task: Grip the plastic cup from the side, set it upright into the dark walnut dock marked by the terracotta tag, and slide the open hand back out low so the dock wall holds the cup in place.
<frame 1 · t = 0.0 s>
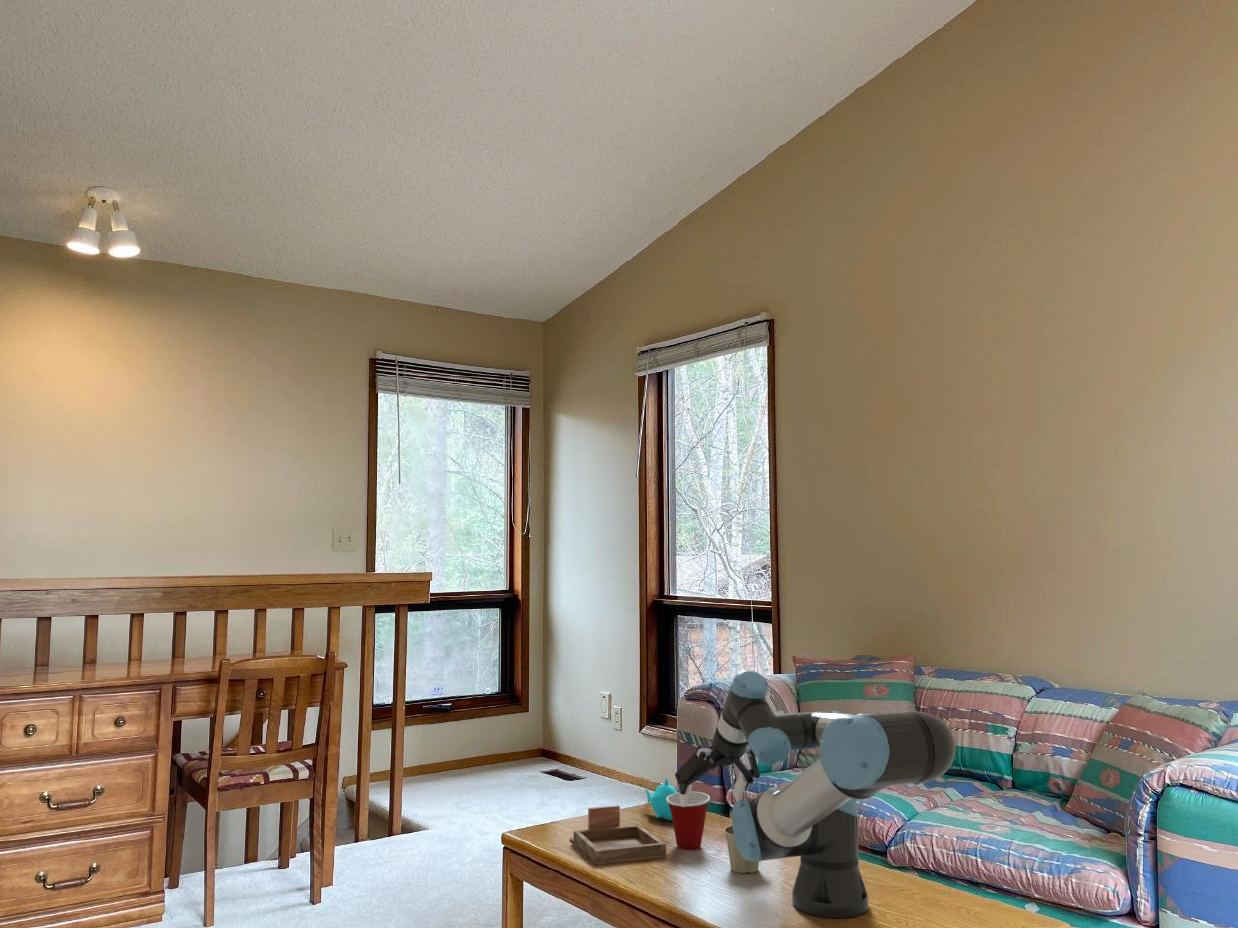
hand: (709, 799, 219), 15 cm above the table, tool tilted 35°, fingers open, 13 cm apart
toy shark: (665, 818, 261), on the table
flower pot: (744, 870, 218), on the table
cup dock: (618, 849, 232), on the table
plastic cup: (688, 847, 235), on the table
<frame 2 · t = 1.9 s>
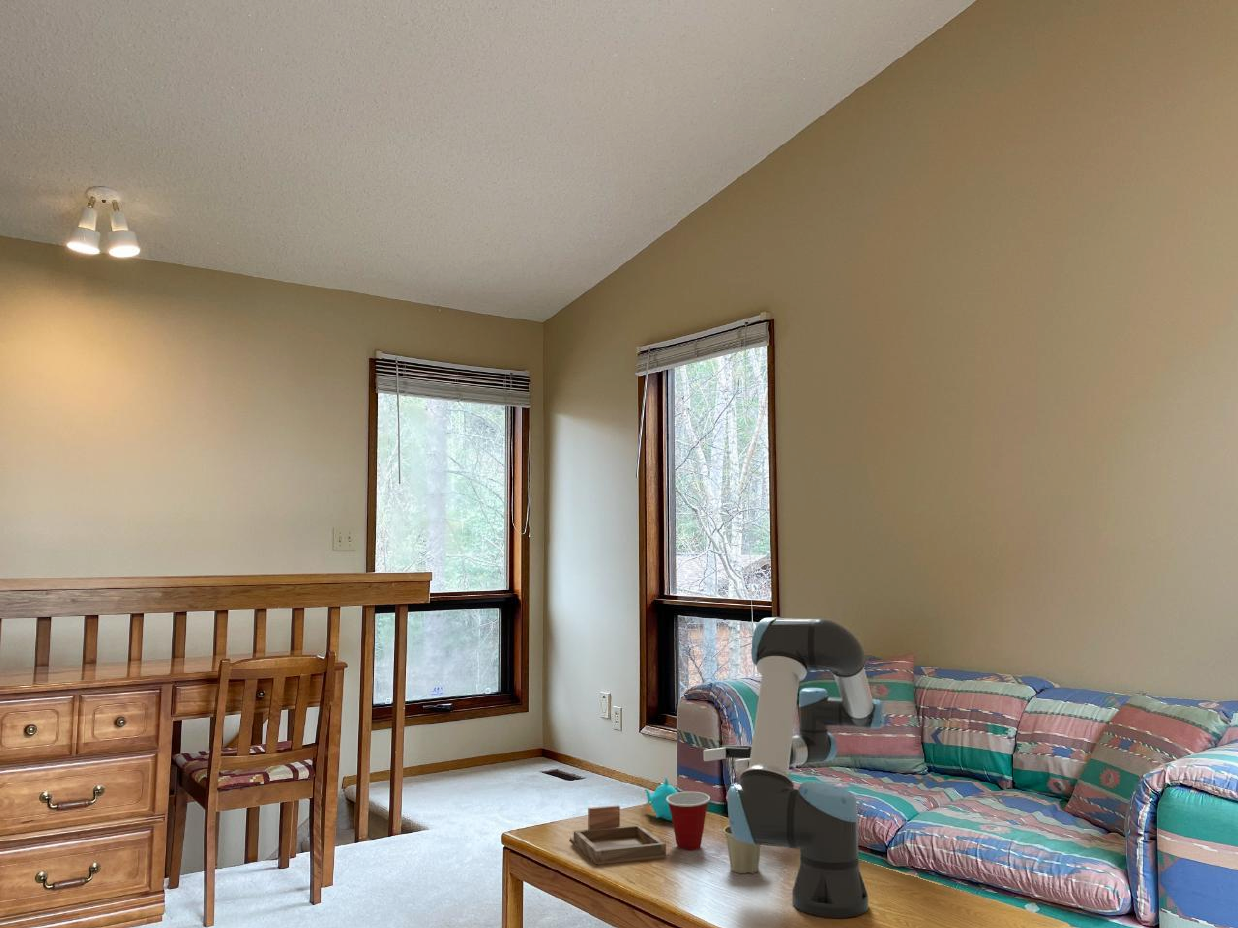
hand: (719, 760, 241), 20 cm above the table, tool horizontal, fingers open, 13 cm apart
nothing on the table moved.
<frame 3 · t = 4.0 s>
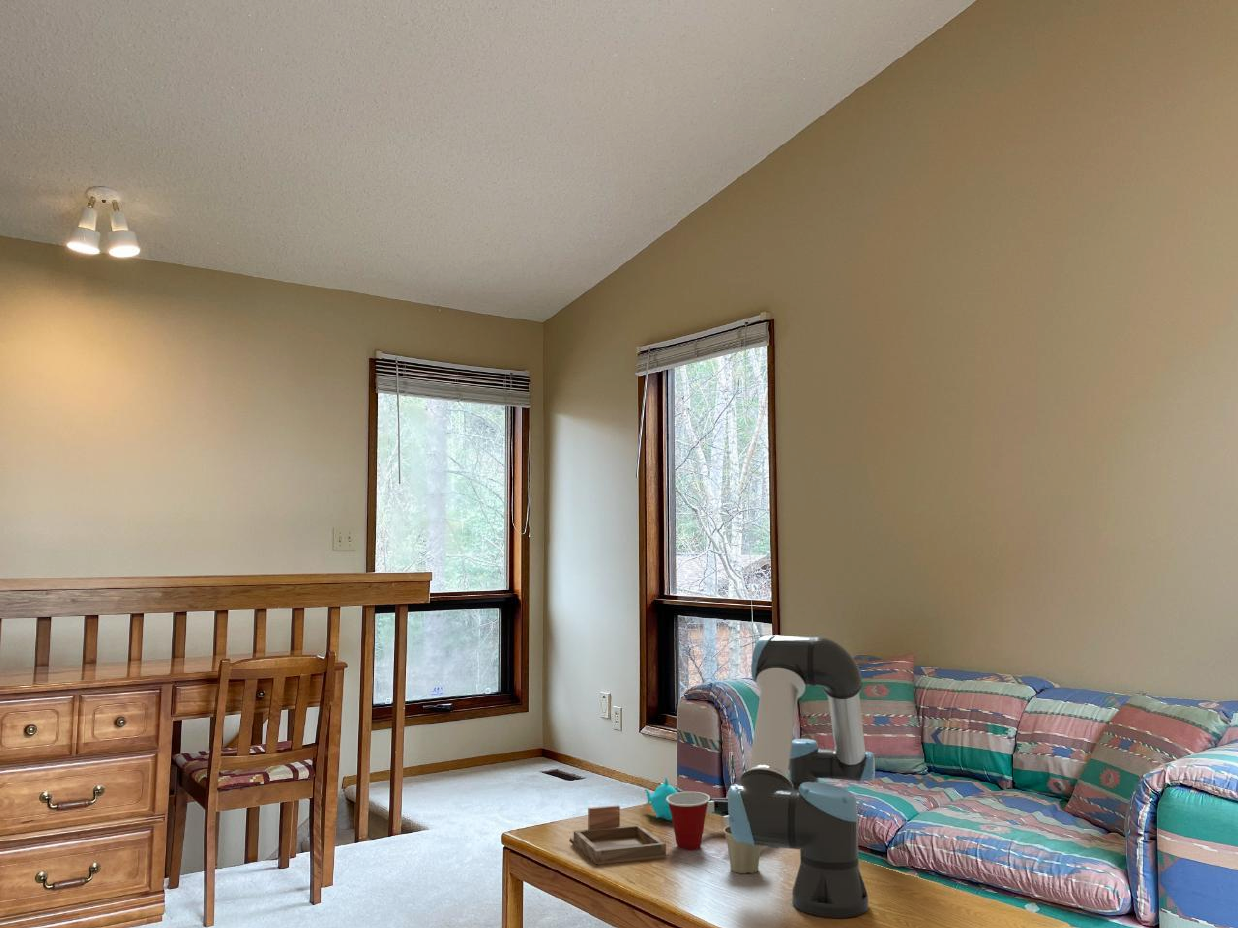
hand: (707, 815, 239), 6 cm above the table, tool horizontal, fingers open, 13 cm apart
nothing on the table moved.
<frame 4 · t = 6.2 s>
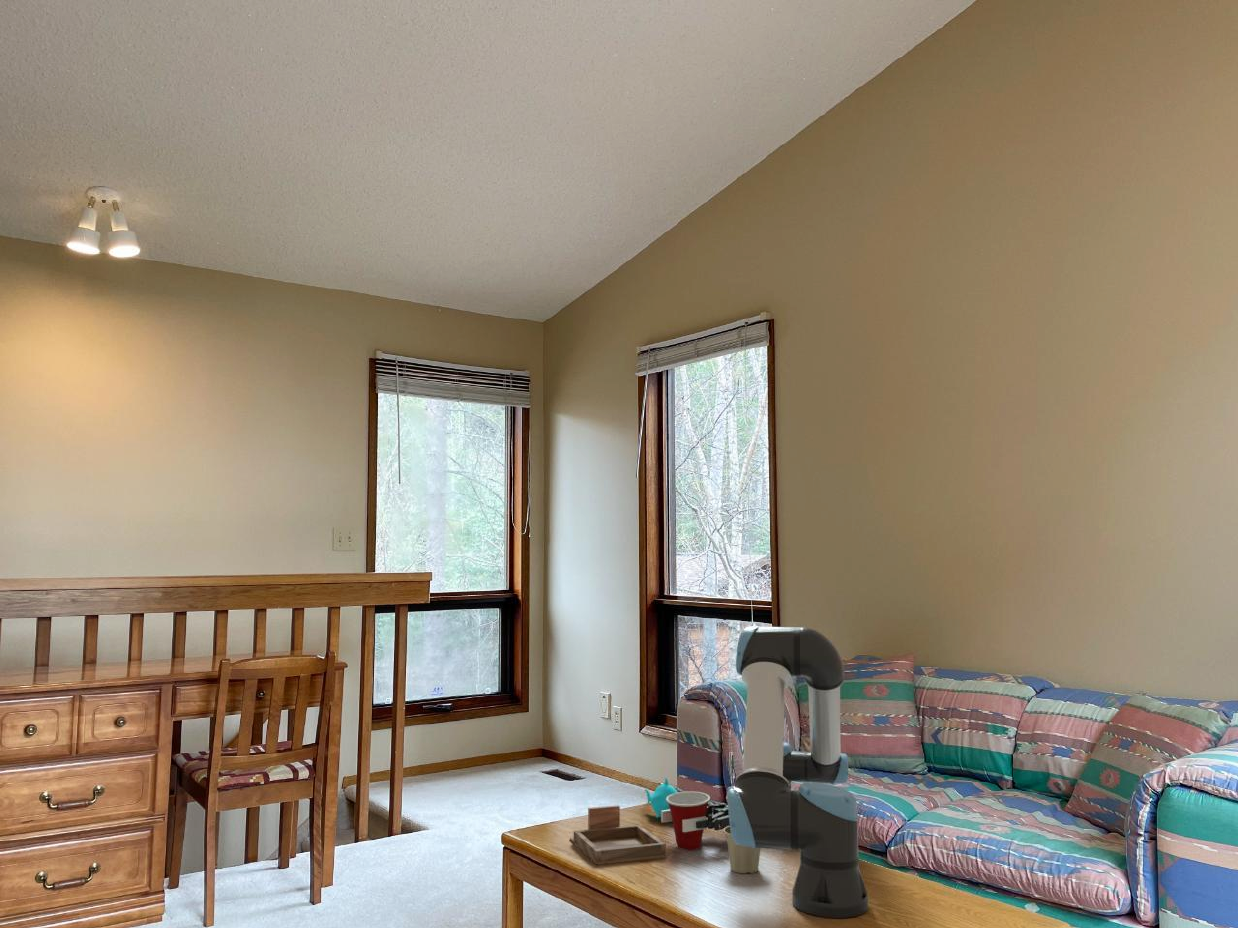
hand: (672, 821, 233), 7 cm above the table, tool horizontal, fingers closed on plastic cup, 9 cm apart
plastic cup: (688, 847, 235), on the table, touching gripper
everything else where it was.
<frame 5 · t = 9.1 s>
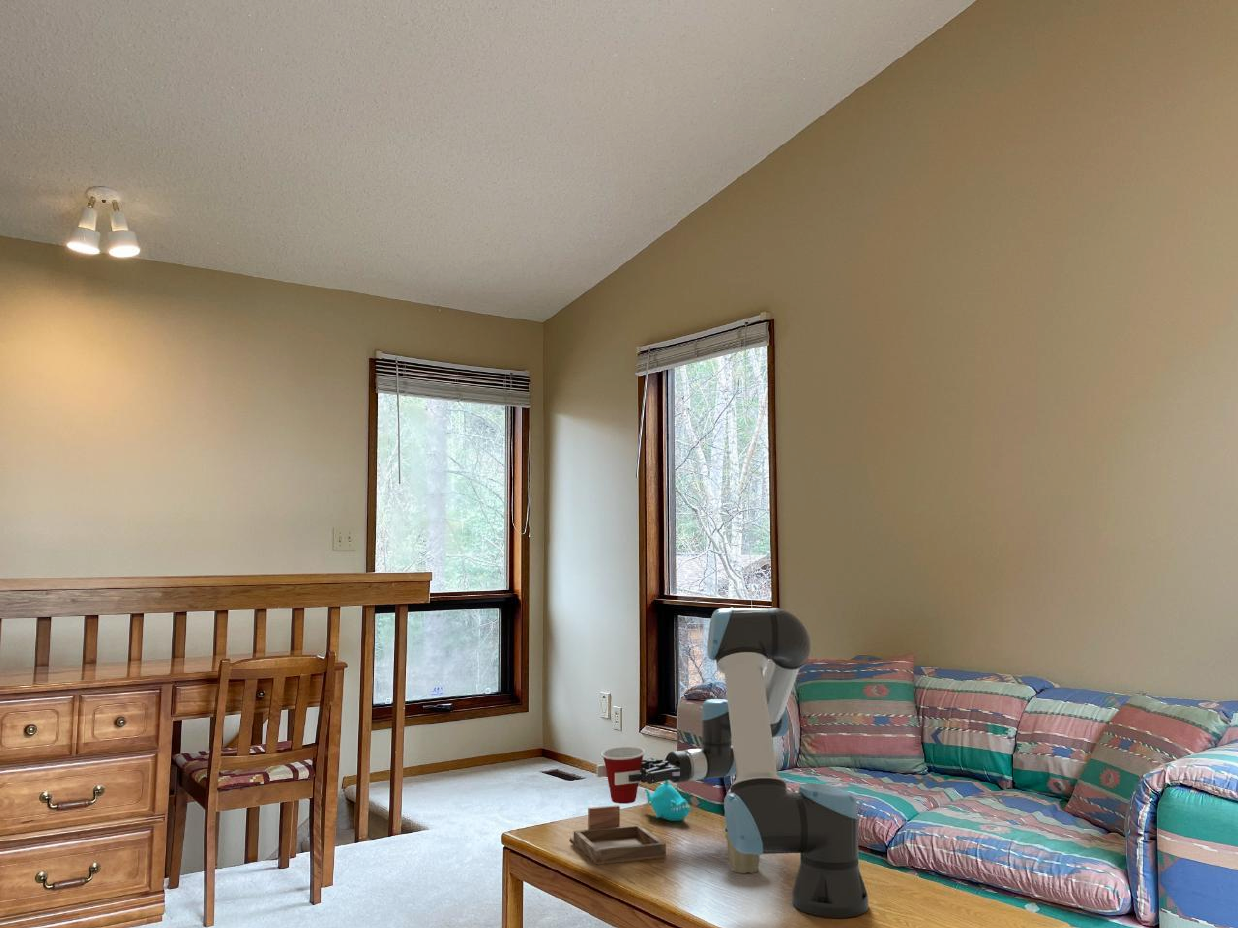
hand: (606, 775, 232), 18 cm above the table, tool horizontal, fingers closed on plastic cup, 9 cm apart
plastic cup: (622, 801, 233), point 11 cm above the table, touching gripper
everything else where it was.
when the fingers open (8 cm above the table, at t = 12.2 s): plastic cup stays where it is, resting on cup dock.
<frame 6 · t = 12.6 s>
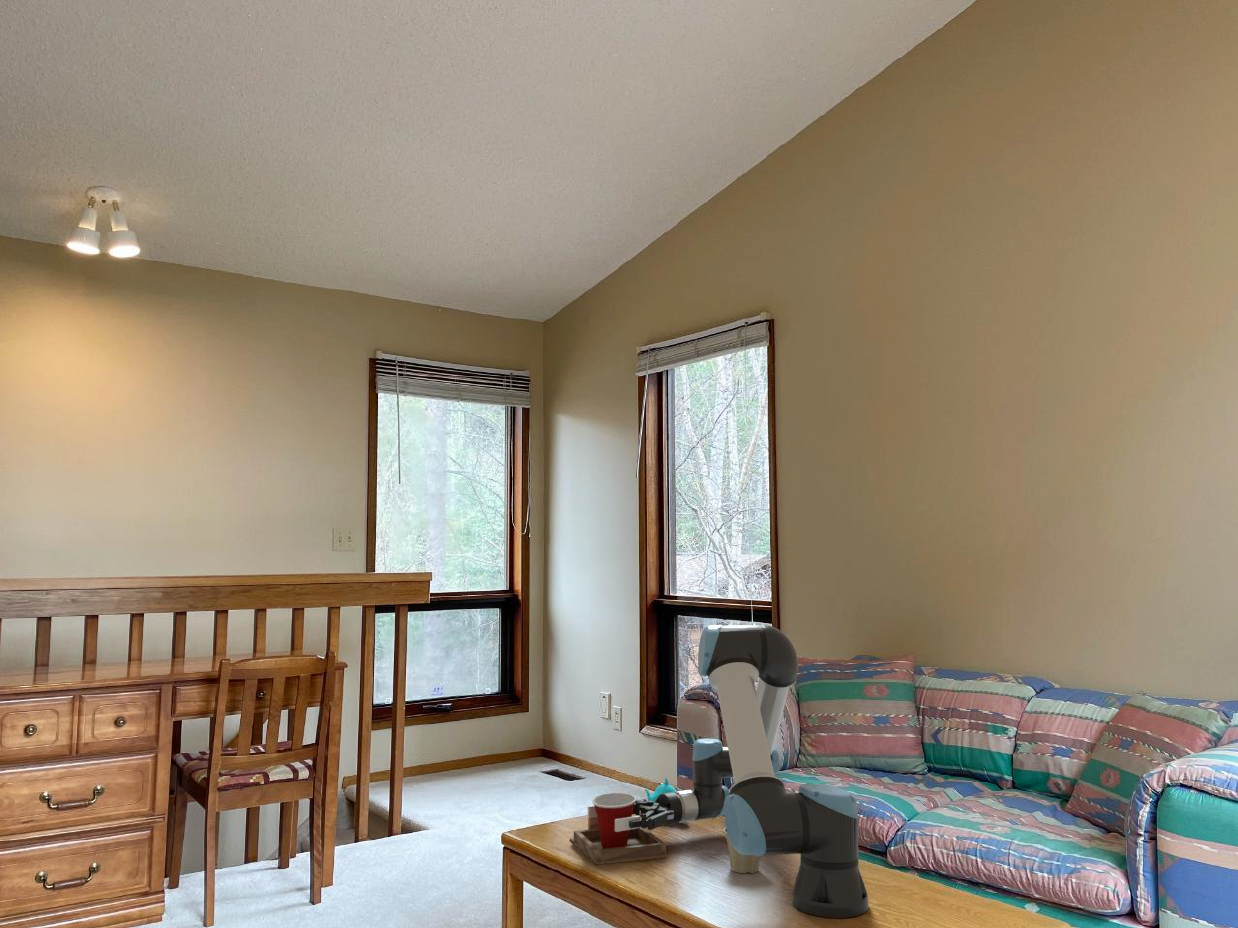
hand: (601, 818, 230), 8 cm above the table, tool horizontal, fingers open, 13 cm apart
plastic cup: (613, 849, 231), resting on cup dock
everything else where it was.
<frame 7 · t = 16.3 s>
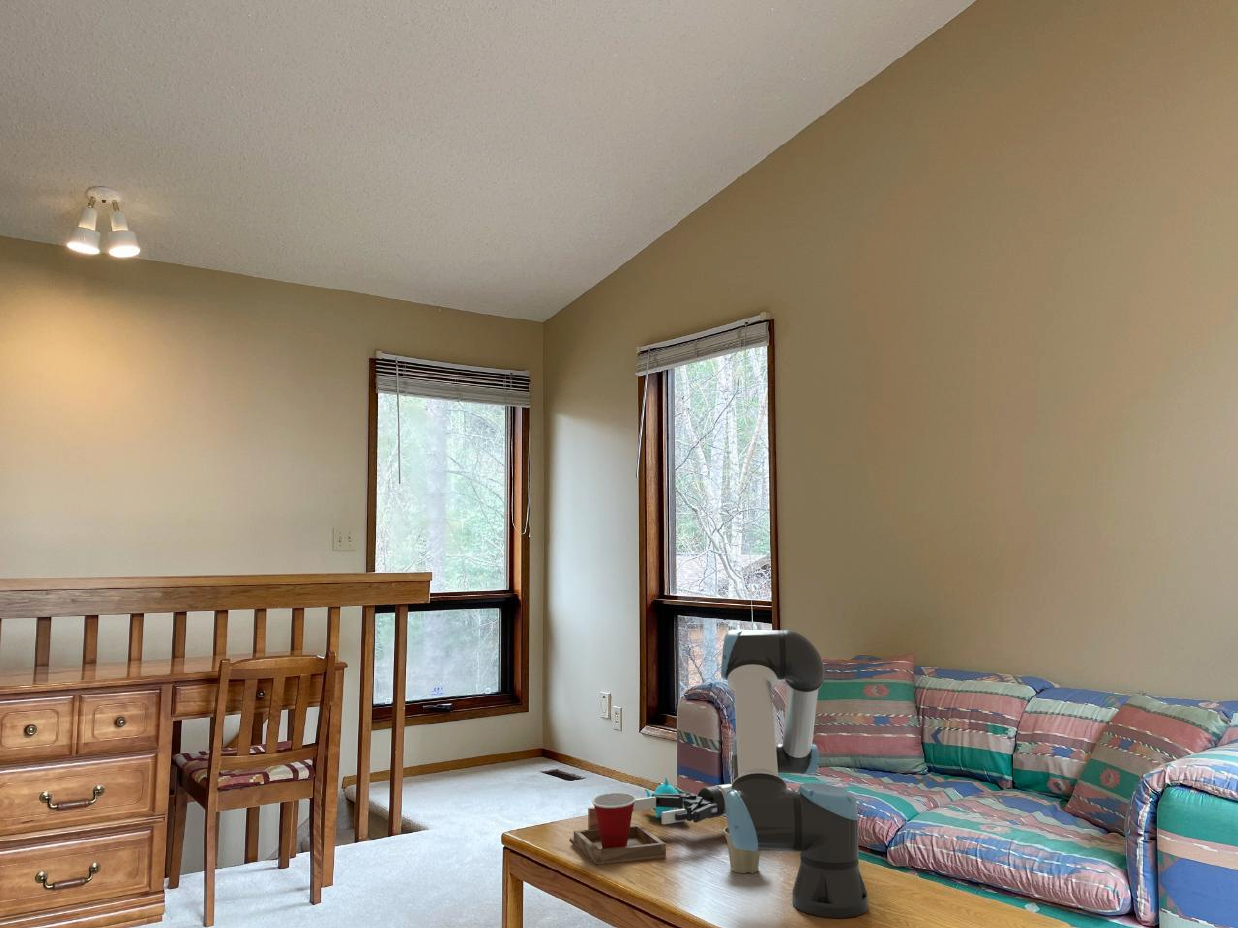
hand: (647, 811, 236), 8 cm above the table, tool horizontal, fingers open, 13 cm apart
nothing on the table moved.
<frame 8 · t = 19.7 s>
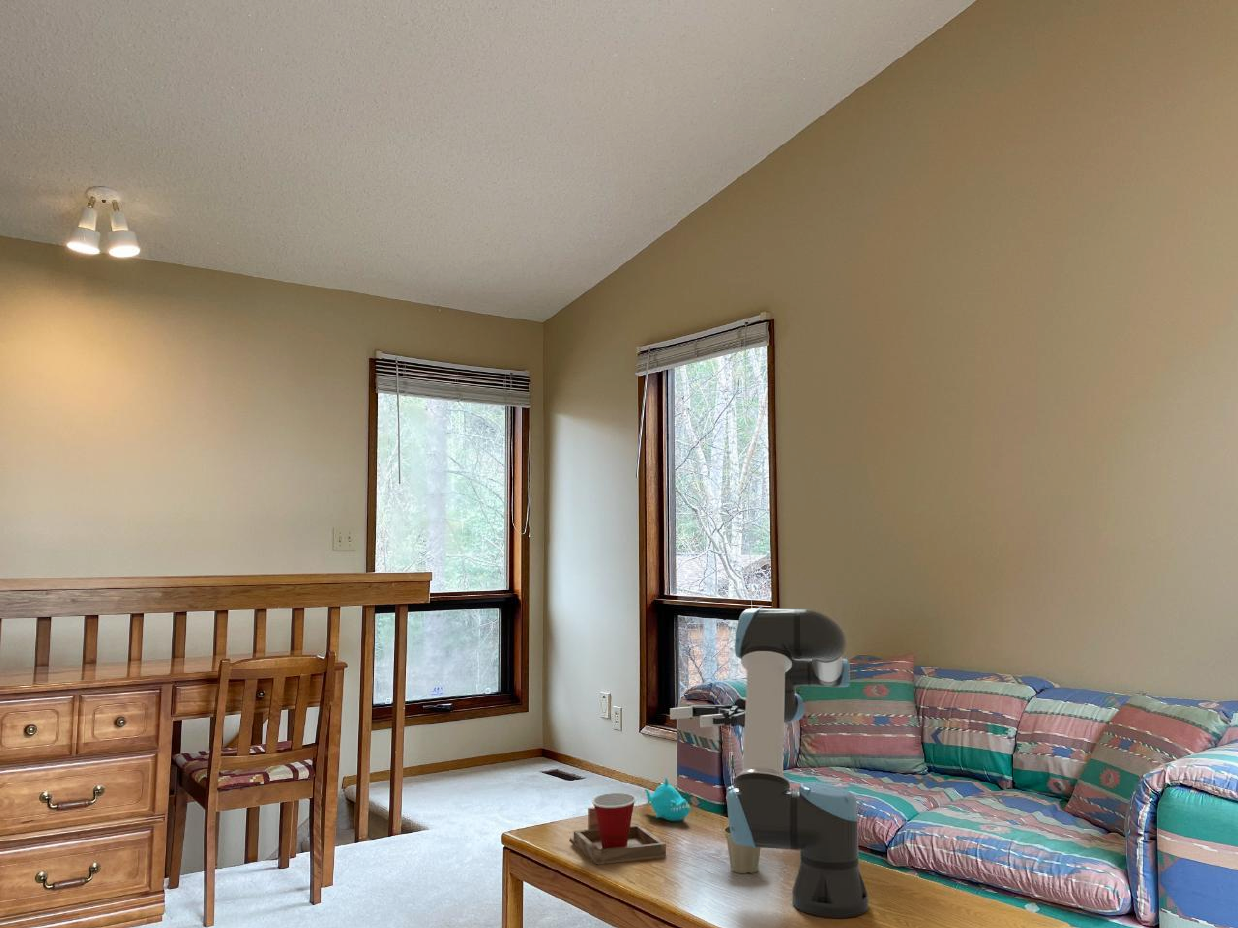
hand: (685, 717, 243), 30 cm above the table, tool horizontal, fingers open, 13 cm apart
nothing on the table moved.
at the end: plastic cup inside the target area on the cup dock (1.4 cm from its centre), point 0.3 cm above the cup dock's base; plastic cup tilted 0°; the gripper is holding nothing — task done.
